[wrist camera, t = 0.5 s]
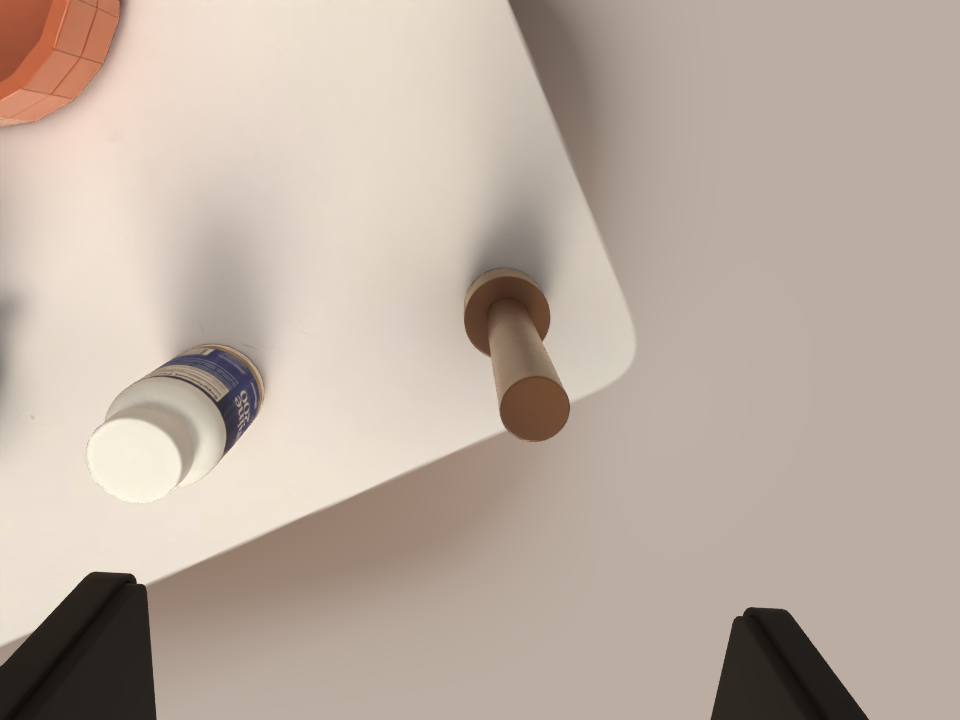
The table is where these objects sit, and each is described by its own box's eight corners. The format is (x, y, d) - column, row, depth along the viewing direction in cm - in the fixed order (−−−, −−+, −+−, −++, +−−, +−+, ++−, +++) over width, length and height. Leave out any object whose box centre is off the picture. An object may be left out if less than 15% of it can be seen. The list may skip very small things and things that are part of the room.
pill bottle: (244, 446, 37) (170, 538, 28) (156, 405, 36) (50, 485, 27) (282, 369, 36) (218, 437, 26) (192, 324, 35) (93, 379, 26)
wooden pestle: (523, 254, 34) (571, 317, 19) (556, 324, 36) (626, 439, 20) (450, 289, 35) (440, 379, 19) (485, 358, 36) (501, 495, 21)
